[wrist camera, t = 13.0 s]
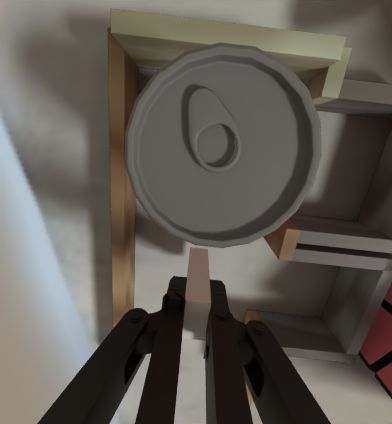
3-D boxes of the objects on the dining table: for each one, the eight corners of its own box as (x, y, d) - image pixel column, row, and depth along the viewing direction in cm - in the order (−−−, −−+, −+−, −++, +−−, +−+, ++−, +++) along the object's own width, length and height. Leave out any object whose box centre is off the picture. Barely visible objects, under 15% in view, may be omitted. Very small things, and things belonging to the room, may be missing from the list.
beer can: (234, 91, 16) (318, -44, 4) (257, 173, 18) (360, 225, 6) (155, 125, 17) (58, 83, 5) (185, 199, 19) (161, 287, 7)
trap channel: (310, 372, 25) (336, 426, 20) (124, 353, 24) (105, 403, 20) (421, 84, 15) (519, 57, 11) (125, 49, 15) (90, 6, 10)
